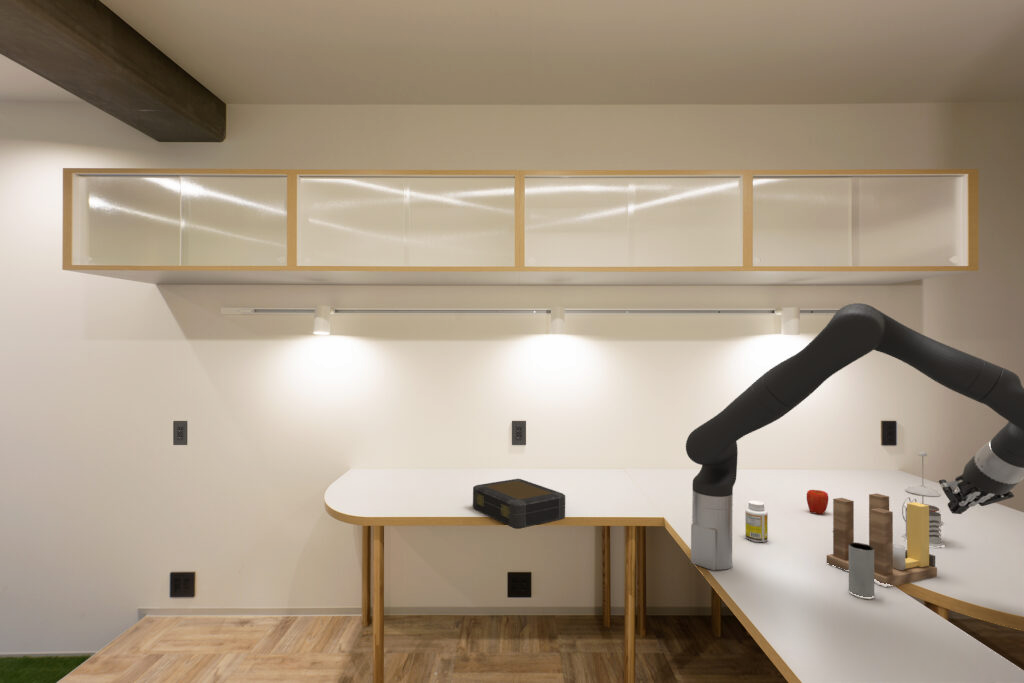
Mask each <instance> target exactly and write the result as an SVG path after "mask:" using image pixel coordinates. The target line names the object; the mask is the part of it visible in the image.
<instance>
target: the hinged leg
mask: <svg viewBox="0 0 1024 683" xmlns="http://www.w3.org/2000/svg"><path fill="white" fill-rule="evenodd" d="M920 503H921V502H920ZM920 503H919V502H917V501H916V502H915V501H913V503H911V502H907V503H906V504H907V542H906V547H905V546H904V545H901V544H896V543H894V544H893V568H895V569H898V570H905V569H907V568H912V567H917V566H919V567H925V566H929V554H930V547H929V506H928V505H929V504H927V505H924V504H925V503H923V504H922V503H921V504H920ZM905 550H907V558H905Z"/></svg>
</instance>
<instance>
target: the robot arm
mask: <svg viewBox="0 0 1024 683" xmlns="http://www.w3.org/2000/svg"><path fill="white" fill-rule="evenodd" d="M873 351H876V352H880V353H882V354H885V355H888V356H889V357H892V358H895V359H897V360H900V361H902V363H905V364H906V365H908V366H910V367H912V368H914V369H915V370H917V371H919V372H920V373H921V374H923V375H925V376H926V377H928V378H930V379H931V380H932V381H934V382H935V383H937V384H940V385H942V386H943V387H945V388H947V389H949V390H951V391H953V392H955V393H958V394H959V395H962V396H964V397H967V398H969V399H971V400H974V401H976V402H977V403H980V404H982V405H985V406H987V407H988V408H990V409H991V410H993V411H994V412H995V413H996V414H998V415H999V416H1001V417H1002V418H1004V419H1005V420H1007V421H1008V422H1007V423H1006V424H1005V425H1004V426H1003V427H1002V428H1001V429H1000V430H999V431H998V432H996V433H997V434H995V435H994V436H993V438H991V439H990V441H988V442H986V443H985V444H984V445H983V446H982V447H980V449H979V450H978V451H977V452H976V453H975V454H974V455H973V456H972V458H970V460H969V461H967V463H966V464H965V466H964V468H963V472H962V474H960V475H958V476H957V477H955V479H954V480H952V481H947V480H946V479H940V480H939V481H938V483H939V485H940V487H941V488H942V491H943V493H944V495H945V496H946V498H947V499H948V500H949V502H948V503H947V507H948V509H949V511H950V513H951V514H952V515H953V514H954V515H962V514H963V513H965V512H966V511H967V510H968V509H969V508H972V507H975V506H976V505H979V506H980V507H985V506H988V505H989V506H990V505H992V504H995V503H998V502H1002V501H1005V500H1008V499H1009V500H1010V499H1012V498H1014V497H1015V495H1014V493H1013V491H1012V490H1013V488H1015V487H1016V486H1017V485H1019V483H1020V482H1022V481H1023V480H1024V387H1023V385H1022V382H1021V378H1020V377H1019V375H1017V373H1016V372H1014V371H1011V370H1009V369H1008V368H1004V367H1002V366H1000V365H997V364H995V363H992V362H990V361H987V360H985V359H982V358H980V357H977V356H975V355H972V354H969V353H967V352H965V351H962V350H959V349H957V348H954V347H952V346H949V345H947V344H945V343H944V342H943V343H942V342H941V341H937V340H935V339H933V338H930V337H929V336H926V335H925V334H922V333H920V332H918V331H916V330H914V329H912V328H910V327H909V326H907V325H904V324H902V323H901V322H899V321H898V320H896V319H894V318H893V317H890V316H889V315H887V314H885V313H884V312H882V311H881V310H878V309H877V308H875V307H873V306H872V305H870V304H867V303H856V302H855V303H851V304H850V303H849V304H847V305H843V307H841V308H839V309H838V310H837V311H836V312H835V314H834V315H833V316H832V318H831V319H830V320H829V322H828V323H827V324H826V325H825V327H824V328H823V329H822V330H821V331H820V332H819V333H818V334H817V335H816V336H815V337H814V338H813V339H812V340H811V341H810V342H809V343H808V344H807V345H806V346H805V347H803V349H802V350H800V351H799V352H797V353H795V354H794V355H792V356H790V357H789V358H787V359H784V361H781V362H780V363H778V364H777V365H774V366H773V367H771V368H770V369H769V370H767V371H766V372H765V373H763V374H762V375H761V376H760V377H759V378H757V379H756V380H755V381H754V382H753V383H751V384H750V386H749V387H748V388H746V389H745V390H744V391H743V392H742V393H740V394H739V395H738V396H736V398H735V399H733V400H732V401H731V402H730V403H729V404H728V405H727V406H726V407H725V408H724V409H723V410H721V411H720V412H719V413H718V414H716V415H714V416H713V417H712V418H710V419H708V420H707V421H706V422H704V423H702V424H701V425H699V426H698V427H697V428H695V429H693V430H692V431H691V432H690V433H689V435H688V437H687V438H686V439H687V440H686V442H685V451H686V454H687V456H688V458H689V459H690V460H691V461H692V462H694V463H695V464H697V465H701V468H700V470H699V472H698V473H697V475H695V476H694V477H693V480H692V502H691V503H692V506H691V508H692V509H691V510H692V511H691V512H692V513H691V520H692V521H691V526H690V531H691V532H690V563H691V564H694V565H697V566H699V567H701V568H705V569H708V570H712V571H719V570H720V571H721V570H729V569H730V568H732V566H733V506H734V503H733V500H734V499H733V498H734V497H733V495H734V492H733V491H734V489H733V488H734V485H735V484H736V481H737V472H738V470H737V469H738V443H737V442H738V441H739V440H741V439H742V438H744V437H745V436H747V435H750V433H754V432H755V431H758V430H760V429H762V428H764V427H766V426H768V425H770V424H772V423H774V422H776V421H777V420H779V419H781V418H783V417H784V416H785V415H787V414H788V413H789V412H791V411H792V410H794V408H796V407H797V406H798V405H800V404H801V403H802V402H803V401H805V400H806V399H807V398H808V397H809V396H810V395H812V394H813V393H814V392H815V391H817V389H818V388H819V387H820V386H821V385H822V384H824V382H825V381H827V380H828V379H829V378H830V377H832V376H833V375H835V374H836V373H838V372H839V371H841V370H843V369H844V368H846V367H847V366H849V365H850V364H852V363H854V362H856V361H857V360H860V359H861V358H863V357H864V356H866V355H868V354H869V353H871V352H873Z"/></svg>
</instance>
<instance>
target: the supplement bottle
mask: <svg viewBox="0 0 1024 683" xmlns="http://www.w3.org/2000/svg"><path fill="white" fill-rule="evenodd" d="M765 508H766V507H765V503H764V502H762V501H759V500H749V501H748V507H746V509H745V512H744V513H745V538H746V539H747V540H748V539H749V540H748V541H750V540H751V541H750V542H753V541H755V542H754V543H759V542H763V543H766V542H767V541H768V536H769V535H768V534H769V533H768V529H769V528H768V522H769V521H768V520H769V519H768V511H767V510H766V509H765Z"/></svg>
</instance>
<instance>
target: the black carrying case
mask: <svg viewBox="0 0 1024 683" xmlns="http://www.w3.org/2000/svg"><path fill="white" fill-rule="evenodd" d="M472 508H473V510H475V511H477V512H478V513H481V514H483V515H485V516H488V517H489V518H491V519H494V520H495V521H498V522H500V523H502V524H504V525H506V526H508V527H511V528H513V529H515V530H520V529H525V528H528V527H534V526H537V525H542V524H546V523H551V522H555V521H560V520H563V519H565V518H566V494H565V493H562V492H560V491H557V490H554V489H552V488H549V487H545V486H542V485H539V484H536V483H533V482H530V481H527V480H524V479H521V478H515V479H514V478H513V479H507V480H501V481H495V482H489V483H482V484H476V485H474V486H473V487H472Z"/></svg>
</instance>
